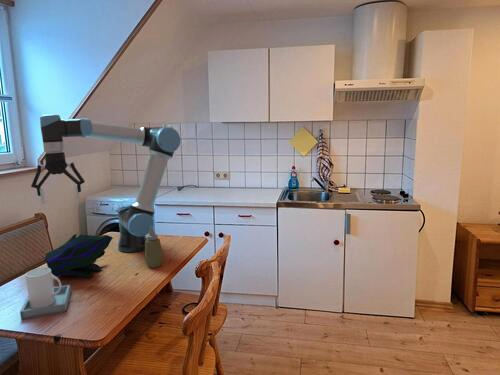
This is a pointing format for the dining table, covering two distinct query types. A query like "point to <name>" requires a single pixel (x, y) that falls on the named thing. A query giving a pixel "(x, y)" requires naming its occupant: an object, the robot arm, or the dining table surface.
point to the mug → (41, 287)
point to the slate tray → (54, 308)
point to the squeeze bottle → (153, 250)
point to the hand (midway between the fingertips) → (61, 201)
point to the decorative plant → (77, 255)
